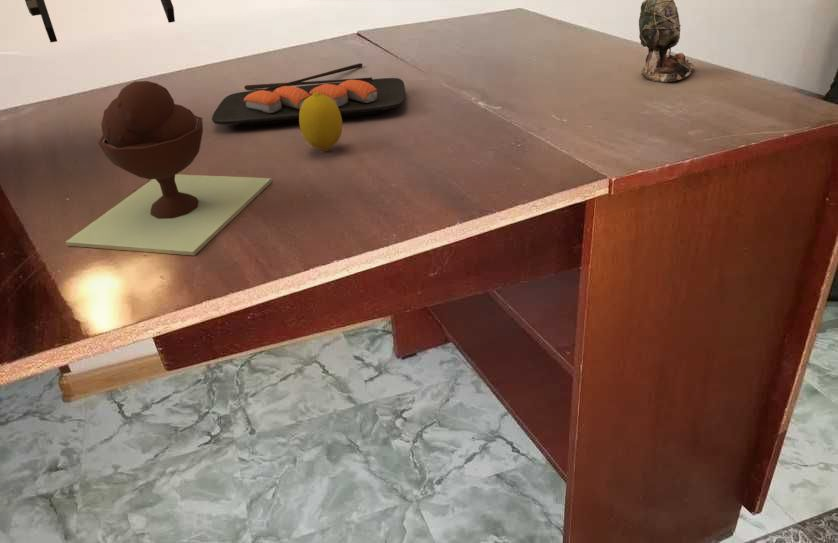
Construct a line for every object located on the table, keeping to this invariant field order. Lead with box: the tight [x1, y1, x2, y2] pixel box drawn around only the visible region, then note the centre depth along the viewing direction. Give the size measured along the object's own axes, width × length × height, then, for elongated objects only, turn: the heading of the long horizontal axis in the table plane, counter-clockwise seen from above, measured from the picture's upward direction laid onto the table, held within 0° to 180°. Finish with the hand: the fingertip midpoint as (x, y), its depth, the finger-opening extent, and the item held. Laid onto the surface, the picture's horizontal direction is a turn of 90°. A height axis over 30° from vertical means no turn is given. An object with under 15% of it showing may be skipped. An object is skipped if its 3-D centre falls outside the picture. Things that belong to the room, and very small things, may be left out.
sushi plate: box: [211, 62, 406, 127], centre depth 114 cm, size 29×30×4 cm
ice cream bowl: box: [97, 80, 204, 219], centre depth 77 cm, size 11×11×15 cm
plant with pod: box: [638, 0, 695, 83], centre depth 103 cm, size 8×11×20 cm
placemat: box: [65, 173, 273, 257], centre depth 81 cm, size 16×18×1 cm
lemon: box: [298, 92, 343, 152], centre depth 91 cm, size 6×6×8 cm
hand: (113, 25), depth 83 cm, fingers open, 13 cm apart
